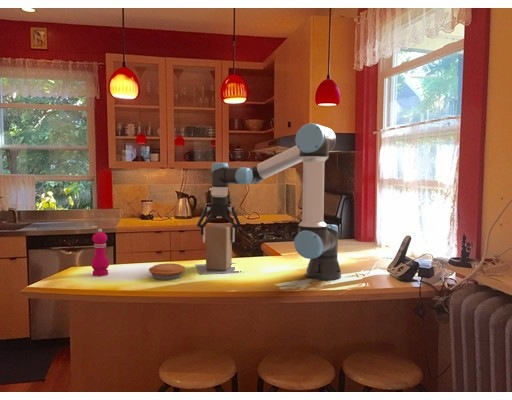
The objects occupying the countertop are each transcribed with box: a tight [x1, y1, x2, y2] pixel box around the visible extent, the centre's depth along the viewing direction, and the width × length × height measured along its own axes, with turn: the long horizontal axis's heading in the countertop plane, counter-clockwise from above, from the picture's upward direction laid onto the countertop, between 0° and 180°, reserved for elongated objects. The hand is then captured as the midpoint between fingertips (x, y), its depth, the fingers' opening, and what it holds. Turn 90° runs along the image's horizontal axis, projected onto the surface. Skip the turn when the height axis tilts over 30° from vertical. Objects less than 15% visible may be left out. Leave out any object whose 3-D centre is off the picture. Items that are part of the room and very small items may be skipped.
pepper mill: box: [90, 228, 110, 277], centre depth 183 cm, size 7×7×20 cm
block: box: [205, 224, 233, 271], centre depth 197 cm, size 10×10×20 cm
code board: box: [195, 262, 240, 276], centre depth 198 cm, size 20×20×1 cm
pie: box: [148, 263, 186, 281], centre depth 182 cm, size 15×16×5 cm
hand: (218, 241), depth 197 cm, fingers open, 13 cm apart
